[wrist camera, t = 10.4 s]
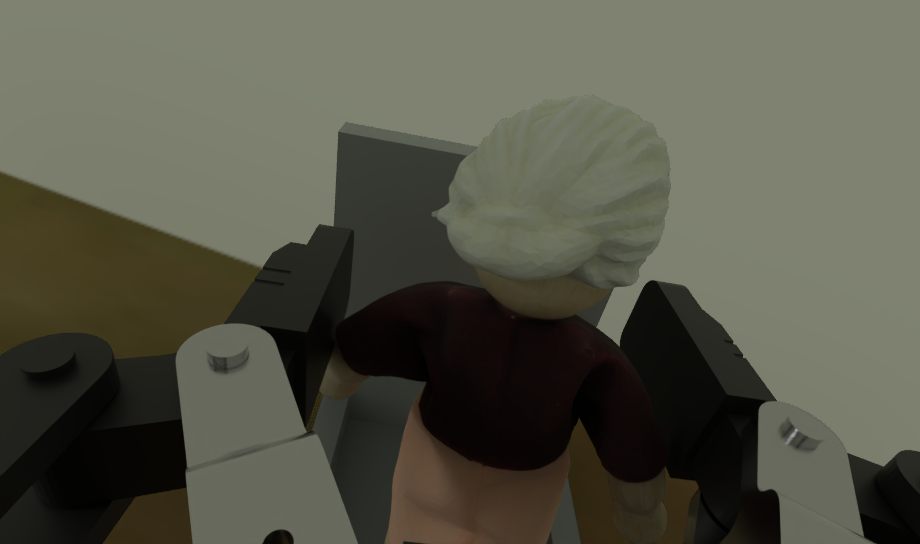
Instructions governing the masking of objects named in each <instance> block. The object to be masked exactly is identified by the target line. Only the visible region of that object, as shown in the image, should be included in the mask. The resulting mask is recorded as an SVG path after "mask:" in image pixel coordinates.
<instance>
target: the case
mask: <svg viewBox="0 0 920 544" xmlns="http://www.w3.org/2000/svg"><path fill="white" fill-rule="evenodd" d="M477 148H478V147H476V146H470V145H465V144H459V143H454V142H449V141H444V140H438V139H433V138H427V137H422V136H417V135H411V134H406V133H401V132H396V131H390V130H385V129H379V128H374V127H369V126H364V125H358V124H353V123H348V122H346V123H345V124H344V125H343V126H342V128H341V129H340V130H339V132H338V151H337V173H336V194H335V214H334V227H339V228H345V229H351V230H354V247H353V261H352V274H351V287H350V295H349V301H348V306H347V311H346V314H345V317H344V319H346V318H347V317H349V316H351V315H352V314H354V313H356V312H358V311H359V310H361V309H363V308H364V307H366V306H367V305H369V304H370V303H372V302H374V301H376V300H377V299H379V298H381V297H383V296H385V295H387V294H390V293H392V292H395V291H397V290H399V289H402V288H404V287H408V286H412V285H415V284H417V283H424V282H435V281H453V282H458V283H462V284H467V285H472V286H476V287H481V288H484V287H483V286H482V285H481V282H480V280H479V277H478V275H477V273H476V270H475V267H474V266H472V265H470V264H469V263H467V262H466V261H464V260H463V259H462V258H461V257H460V256H459V255H458V253H457V252H456V251H455V250H454V248H453V246H452V245H451V243H450V241H449V238H448V233H447V226H446V225H444V224H443V223H441V222H440V221H439V220H438V219H437V217H433V216H432V214H431V213H432V212H435V211H437V210H440V209H441V208H443V207H445V206H446V205H447V204H448V203H449V201H450V200H449V186H450V184H451V183H452V181H453V180H454V177H455V174H456V172H457V169H458V167H459V164H460V163H461V162H462V161H463V160H464V159H465V158H466V157H467V156H468V155H470V154H471V153H473V152H474V151H476V150H477ZM612 291H613V288H612V290H611V291H610V292H609V293H608V295H607V296H605V297H604V298H603V299H602V300H601V301H599V302H598V303H597V304H596V305H594V306H592V307H591V308H589V309H587V310H585V311H583V312H581V313H578V314H576V315H578V316H579V317H581V318H583V319H584V320H586V321H587V322H589V323H590V324H592V325H593V326H595V327H597V325H598V322H599V320H600V318H601V316H602V313H603V311H604V309H605V307H606V304H607V302H608V300H609V297H610V295H611V293H612ZM336 341H337V340H336ZM425 384H426V382H418V381H413V380H407V379H403V378H399V377H392V376H390V377H385V376H379V377H374V376H370V377H369V378H368V379H366V380H364V381H362V382H361V385H360V387H359V388H358V390H357V391H356V392H355V393H354V394H353V395H352V396H350V397H348V398H345V399H342V400H334V399H331V398H328V397H326V396H325V395H323V398H322V401H321V404H320V407H319V410H318V414H317V417H316V420H315V423H314V426H313V429H312V431H314V432H315V433H316V434H317V435H318V437H319V439H320V441H321V444H322V446H323V449H324V451H325V454H326V457H327V460H328V463H329V465H330V468H331V471H332V474H333V476H334V479H335V482H336V485H337V487H338V490H339V493H340V496H341V498H342V501H343V504H344V507H345V509H346V512H347V515H348V518H349V520H350V523H351V526H352V529H353V531H354V534H355V537H356V540H357V542H358V544H384V543H385V539H386V534H387V531H388V528H389V521H390V514H391V503H392V484H393V476H394V471H395V467H396V463H397V460H398V456H399V451H400V446H401V442H402V437H403V433H404V430H405V426H406V423H407V420H408V416H409V413H410V410H411V407H412V405H413V403H414V400H415V399H416V397H417V396H418V395H419V393H420V392H421V391H422V389H423V388H424V386H425ZM546 544H581V541H580V536H579V531H578V526H577V521H576V516H575V511H574V506H573V501H572V496H571V491H570V486H569V481H568V476H567V479H566V483H565V486H564V491H563V494H562V497H561V501H560V505H559V508H558V511H557V514H556V517H555V520H554V522H553V525H552V528H551V531H550V534H549V537H548V540H547V543H546Z"/></svg>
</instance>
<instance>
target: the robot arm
mask: <svg viewBox="0 0 920 544" xmlns="http://www.w3.org/2000/svg"><path fill="white" fill-rule="evenodd" d="M353 247H354V230H351V229H345V228H339V227H332V226H327V225H321V224H320V225H319V226H318V227H317V228H316V230H315V232H314V233H313V235H312V237H311V239H310V240H309V242H308V244H307V245H305V244H299V243H292V242H290V243H289V244H287V245H285V246H284V247H282V248H280V249H279V250H277V251H275V252H273V253H272V255H271V256H270V258H269V259H268V260H267V262H266V263H265V265H264V266H263V270H261V271H260V272H259V273H258V275H257V276H256V278H255V281H254V282H252V284H251V285H250V287H249V288H248V290H247V291H246V292H245V294H244V295H243V297H242V298H241V300H240V301H239V303H238V304H237V306H236V307H235V309H234V310H233V311H232V313H231V314H230V316H229V317H228V319H227V320H226V322H225V323H224V324H223V325H218V326H213V327H210V328H207V329H204V330H202V331H200V332H198V333H196V334H195V335H193V336H191V337H190V338H189V339H188V340H186V341H185V342H184V343H183V345H182V346H181V347H180V349H179V350H178V352H177V353H174V354H168V355H161V356H149V357H138V358H126V359H114V355H113V352H112V349H111V347H110V345H109V344H108V343H107V342H106V341H104V340H103V339H101V338H99V337H97V336H94V335H90V334H84V333H61V334H54V335H48V336H44V337H40V338H37V339H33V340H30V341H27V342H25V343H23V344H20V345H18V346H16V347H14V348H12V349H10V350H8V351H7V352H5V353H4V354H2V355H1V356H0V544H102V543H103V542H104V541H105V539H106V538H107V536H108V535H109V533H110V532H111V531H112V529H113V528H114V526H115V525H116V524H117V522H118V521H119V519H120V518H121V516H122V515H123V514H124V512H125V511H126V509H127V508H128V507H129V505H130V504H131V502H132V501H133V499H134V498H135V497H136V496H142V495H147V494H153V493H158V492H164V491H170V490H175V489H181V488H186V487H187V493H188V503H189V512H190V522H191V531H192V540H193V544H358V542H357V540H356V537H355V534H354V531H353V529H352V526H351V523H350V520H349V518H348V515H347V512H346V509H345V507H344V504H343V501H342V498H341V496H340V493H339V490H338V487H337V485H336V482H335V479H334V476H333V474H332V471H331V468H330V465H329V463H328V460H327V457H326V454H325V451H324V449H323V446H322V444H321V441H320V439H319V437H318V435H317V434H316V433H315V432H314V431H311V432H307V431H306V430H305V429H306V427H307V424H308V421H309V418H310V415H311V412H312V409H313V406H314V404H315V401H316V398H317V395H318V392H319V389H320V386H321V383H322V381H323V378H324V375H325V372H326V369H327V366H328V363H329V360H330V358H331V355H332V351H333V347H334V345H335V343H336V336H335V331H336V327H337V326H338V324H339V323H340V322H341V321H343V320H344V317H345V314H346V311H347V306H348V301H349V295H350V287H351V274H352V261H353ZM620 348H621V349H622V351H623V352H624V353H625V355H626V356H627V358H628V359H629V361H630V362H631V364H632V365H633V367H634V368H635V370H636V371H637V373H638V375H639V376H640V378H641V380H642V382H643V384H644V386H645V388H646V390H647V392H648V395H649V397H650V399H651V402H652V405H653V408H654V411H655V415H656V419H657V422H658V424H659V427H660V430H661V433H662V435H663V438H664V440H665V443H666V447H667V450H668V458H667V463H666V465H665V466H666V468H667V471H668V473H669V476H670V478H678V479H685V480H693V481H696V482H697V484H698V486H699V488H698V490H697V491H696V492H695V494H694V495H693V497H692V498H691V501H690V505H689V511H688V518H687V524H686V530H685V536H684V542H683V544H920V452H918V451H912V450H904V451H901V452H899V453H898V454H897V455H896V456H895V457H894V458H893V459H892V460H890V461H889V462H888V463H887V464H886V465H885V466H884V467H883V466H880V465H878V464H875V463H872V462H870V461H867V460H864V459H861V458H859V457H856V456H854V455H851V454H849V453H847V451H846V449H845V447H844V445H843V443H842V442H841V440H840V439H839V438H838V437H837V435H836V434H835V433H834V432H833V431H832V430H831V429H830V428H829V427H828V426H826V425H825V424H824V423H823V422H821V421H820V420H819V419H817V418H816V417H814V416H813V415H811V414H810V413H808V412H806V411H804V410H802V409H800V408H798V407H795V406H793V405H790V404H787V403H783V402H777V400H776V399H775V398H774V396H773V395H772V394H771V392H770V391H769V389H768V388H767V387H766V385H765V384H764V383H763V381H762V380H761V378H760V377H759V376H758V375H757V373H756V372H755V370H754V369H753V368H752V366H751V365H750V363H749V362H748V361H747V359H746V358H743V354H742V352H741V351H740V350H739V348H738V347H737V346H736V345H734V344H733V340H732V339H731V337H730V336H729V335H728V333H727V332H726V331H725V329H724V328H723V327H722V325H721V324H720V323H718V322H717V321H716V320H714V319H713V318H712V317H711V316H710V315H709V314H707V313H706V312H705V311H704V310H702V309H701V307H700V306H699V304H698V303H697V301H696V300H695V299H694V297H693V296H692V294H691V293H690V292H689V290H688V289H687V288H686V287H685V286H683V285H678V284H672V283H666V282H659V281H654V280H652V281H649V282H648V283H646V285H645V286H644V287H643V289H642V291H641V293H640V296H639V298H638V300H637V302H636V304H635V306H634V308H633V310H632V313H631V315H630V317H629V319H628V321H627V323H626V325H625V327H624V329H623V332H622V335H621V339H620ZM403 544H425V543H416V542H407V541H403Z"/></svg>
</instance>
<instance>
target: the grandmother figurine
mask: <svg viewBox="0 0 920 544" xmlns="http://www.w3.org/2000/svg"><path fill="white" fill-rule="evenodd" d="M669 172H670V163H669V156H668V152H667V147H666V142H665V141H664V140H663V139H662V138H660V137H658V135H657V133H656V128H655V126H654V125H653V124H652V123H650V122H648V121H644V120H643V119H642V118H641V117H640V116H638V115H636V114H635V113H634V112H632V111H631V110H629V109H627V108H624V107H620V106H615V105H613V104H611V103H609V102H607V101H605V100H602V99H600V98H598V97H596V96H594V95H585V96H581V97H578V96H576V97H571V98H567V99H562V100H544V101H542V102H539V103H537V104H535V105H533V106H532V107H530V108H529V109H527V110H523V111H521V112H519V113H517V114H515V115H514V116H512V117H510V118H505V119H502V120H500V121H499V122H498V123H497V125H496V126H495V128H494V129H493V131H492V132H491V133H490V134H489V135H488V136H487V137H485V138H484V139H483V140H482V142H481V144H480V145H479V147H478V148H477V150H476V151H474V152H473V153H471V154H470V155H468V156H467V157H466V158H465V159H464V160H463V161H462V162H461V163H460V164H459V167H458V169H457V172H456V174H455V177H454V180H453V181H452V183H451V184H450V186H449V200H450V201H449V203H448V204H447V205H446V206H445V207H443V208H441V209H440V210H437V211H435V212H432V213H431V214H432V216H433V217H437V219H438V220H439V221H440V222H441V223H443V224H444V225H446V226H447V233H448V238H449V241H450V243H451V245H452V246H453V248H454V250H455V251H456V252H457V253H458V255H459V256H460V257H461V258H462V259H463V260H464V261H466V262H467V263H469V264H470V265H472V266H474V267H475V270H476V273H477V275H478V277H479V280H480V282H481V285H482V286H483V287H484V288H481V287H476V286H472V285H467V284H462V283H458V282H453V281H435V282H424V283H417V284H415V285H412V286H408V287H404V288H402V289H399V290H397V291H395V292H392V293H390V294H387V295H385V296H383V297H381V298H379V299H377V300H376V301H374V302H372V303H370V304H369V305H367V306H366V307H364V308H363V309H361V310H359V311H358V312H356V313H354V314H352V315H351V316H349V317H347V318H346V319H344V320H343V321H341V322H340V323H339V324H338V326H337V327H336V331H335V336H336V340H337V341H336V343H335V345H334V347H333V351H332V355H331V358H330V360H329V363H328V366H327V369H326V372H325V375H324V378H323V381H322V383H321V386H320V389H319V390H320V392H321V393H322V394H323V395H325V396H326V397H328V398H331V399H334V400H342V399H345V398H348V397H350V396H352V395H353V394H354V393H355V392H356V391H357V390H358V388H359V387H360V385H361V382H362V381H364V380H366V379H368V378H369V377H370V376H374V377H379V376H385V377H390V376H392V377H399V378H403V379H407V380H413V381H418V382H426V384H425V386H424V388H423V389H422V391H421V392H420V393H419V395H418V396H417V397H416V399H415V400H414V403H413V405H412V407H411V410H410V413H409V416H408V420H407V423H406V426H405V430H404V433H403V437H402V442H401V446H400V451H399V456H398V460H397V463H396V467H395V471H394V476H393V484H392V503H391V514H390V521H389V528H388V531H387V534H386V539H385V543H384V544H403V541H407V542H416V543H425V544H546V543H547V540H548V537H549V534H550V531H551V528H552V525H553V522H554V520H555V517H556V514H557V511H558V508H559V505H560V501H561V497H562V494H563V491H564V486H565V483H566V479H567V476H568V472H569V468H570V454H569V441H570V438H571V434H572V431H573V428H574V426H575V425H576V424H577V422H578V419H579V418H580V420H581V422H582V424H583V426H584V428H585V430H586V432H587V434H588V436H589V437H590V439H591V441H592V443H593V445H594V447H595V449H596V452H597V455H598V457H599V458H600V460H601V463H602V465H603V467H604V468H605V469H606V470H607V471H608V483H609V488H610V491H611V494H612V496H613V498H614V500H613V502H612V518H613V521H614V524H615V527H616V528H617V530H618V532H619V533H620V534H621V535H622V536H623V537H624V538H625V539H627V540H628V541H630V542H632V543H634V544H653V543H655V542H657V541H658V540H659V539H660V538H661V537H662V535H663V534H664V532H665V530H666V526H667V514H666V510H665V507H664V505H663V503H662V501H663V499H664V496H665V470H664V467H665V465H666V463H667V458H668V450H667V447H666V443H665V440H664V438H663V435H662V433H661V430H660V427H659V424H658V422H657V419H656V415H655V411H654V408H653V405H652V402H651V399H650V397H649V395H648V392H647V390H646V388H645V386H644V384H643V382H642V380H641V378H640V376H639V375H638V373H637V371H636V370H635V368H634V367H633V365H632V364H631V362H630V361H629V359H628V358H627V356H626V355H625V353H624V352H623V351H622V349H621V348H620V347H619V346H618V345H617V344H616V343H615V342H614V341H613V340H612V339H610V338H609V337H608V336H606V335H605V334H604V333H603V332H601V331H600V330H599V329H597V328H596V327H595V326H593V325H592V324H590V323H589V322H587V321H586V320H584V319H583V318H581V317H579V316H578V315H576V314H578V313H581V312H583V311H585V310H587V309H589V308H591V307H592V306H594V305H596V304H597V303H598V302H599V301H601V300H602V299H603V298H604V297H605V296H607V295H608V293H609V292H610V291H611V290H612V288H614V287H618V286H619V287H621V286H622V287H623V286H630V285H632V284H634V283H635V282H636V281H637V279H638V277H639V268H640V267H641V265H642V264H643V263H644V262H645V260H646V258H647V256H649V255H650V254H651V253H652V252H653V251H654V250H655V248H656V247H657V245H658V243H659V241H660V239H661V235H662V233H663V229H664V218H665V215H666V212H667V210H668V205H669V202H668V196H669V192H670V178H669Z"/></svg>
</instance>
